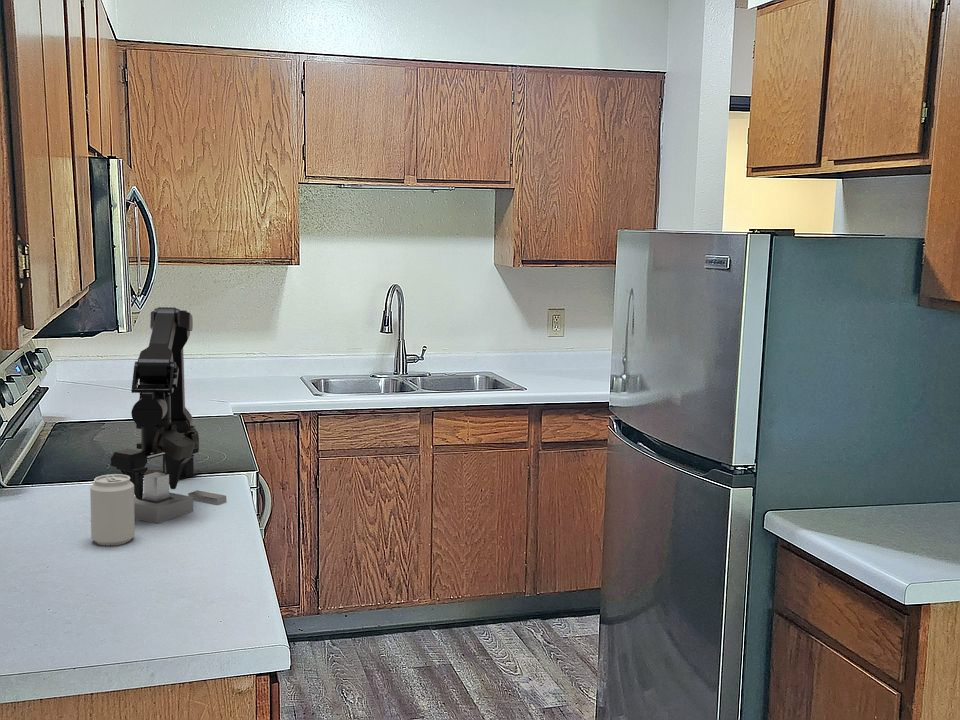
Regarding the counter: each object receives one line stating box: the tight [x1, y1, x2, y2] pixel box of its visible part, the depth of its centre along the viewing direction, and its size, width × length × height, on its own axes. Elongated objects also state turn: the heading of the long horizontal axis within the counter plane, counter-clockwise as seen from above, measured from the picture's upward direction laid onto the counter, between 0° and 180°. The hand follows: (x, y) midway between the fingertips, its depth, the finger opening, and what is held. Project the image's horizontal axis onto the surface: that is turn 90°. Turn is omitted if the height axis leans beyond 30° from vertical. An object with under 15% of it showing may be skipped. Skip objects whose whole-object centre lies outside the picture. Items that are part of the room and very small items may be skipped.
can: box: [89, 473, 136, 547], centre depth 177 cm, size 8×8×12 cm
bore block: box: [134, 492, 194, 524], centre depth 195 cm, size 10×10×3 cm
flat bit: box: [187, 489, 227, 506], centre depth 205 cm, size 8×3×2 cm, turn 64°
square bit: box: [143, 471, 170, 504], centre depth 195 cm, size 3×3×8 cm
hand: (156, 494), depth 195 cm, fingers open, 9 cm apart
